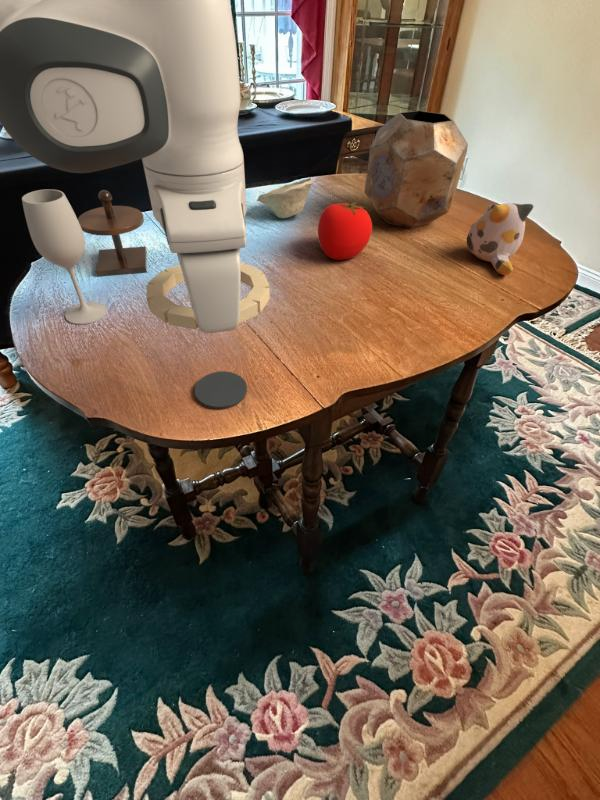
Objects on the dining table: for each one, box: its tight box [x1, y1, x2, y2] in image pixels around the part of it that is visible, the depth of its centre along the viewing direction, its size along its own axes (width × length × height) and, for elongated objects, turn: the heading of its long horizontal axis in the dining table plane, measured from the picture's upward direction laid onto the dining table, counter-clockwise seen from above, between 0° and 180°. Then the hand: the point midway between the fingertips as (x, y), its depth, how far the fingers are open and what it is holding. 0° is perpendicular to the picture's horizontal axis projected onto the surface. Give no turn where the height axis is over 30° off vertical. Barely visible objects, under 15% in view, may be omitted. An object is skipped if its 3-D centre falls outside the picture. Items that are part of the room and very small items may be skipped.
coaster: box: [194, 370, 248, 410], centre depth 67 cm, size 8×8×1 cm
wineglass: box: [21, 188, 108, 326], centre depth 73 cm, size 8×8×21 cm
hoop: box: [145, 261, 271, 330], centre depth 55 cm, size 15×15×2 cm
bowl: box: [256, 177, 315, 219], centre depth 113 cm, size 15×14×10 cm
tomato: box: [317, 201, 373, 261], centre depth 98 cm, size 12×14×11 cm
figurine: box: [466, 202, 534, 276], centre depth 97 cm, size 12×17×15 cm
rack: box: [77, 189, 148, 278], centre depth 89 cm, size 13×13×15 cm
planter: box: [364, 110, 469, 229], centre depth 110 cm, size 22×24×24 cm
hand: (214, 318), depth 50 cm, fingers closed on hoop, 2 cm apart
